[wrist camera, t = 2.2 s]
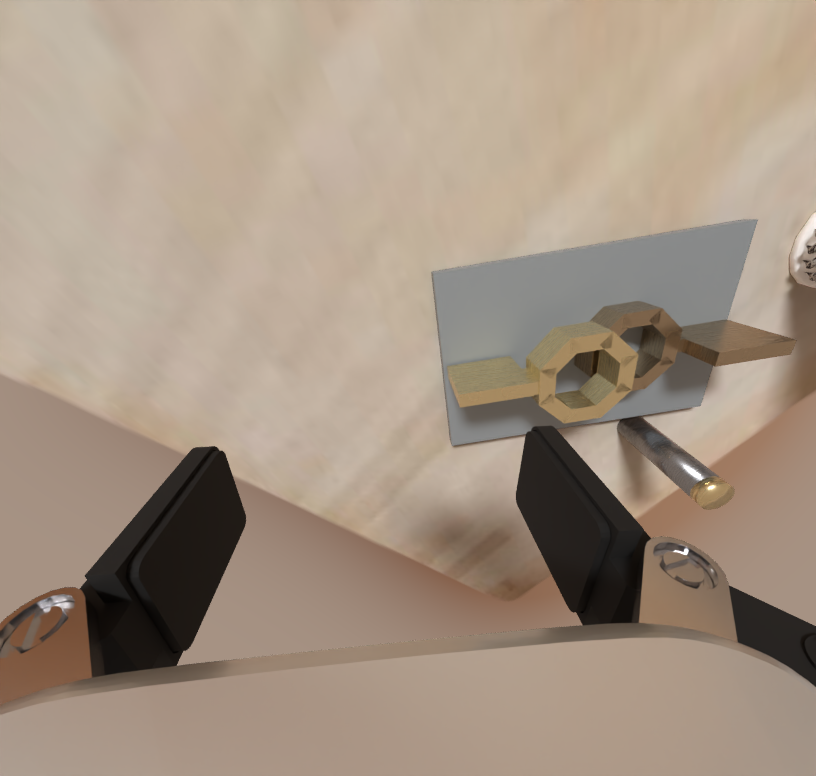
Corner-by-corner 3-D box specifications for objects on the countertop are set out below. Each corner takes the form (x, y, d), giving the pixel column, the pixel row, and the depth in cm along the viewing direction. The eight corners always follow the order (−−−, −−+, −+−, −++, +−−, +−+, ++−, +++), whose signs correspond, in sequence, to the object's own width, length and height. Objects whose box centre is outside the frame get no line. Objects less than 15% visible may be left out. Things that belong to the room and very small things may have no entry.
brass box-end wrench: (598, 308, 29) (643, 326, 24) (589, 383, 33) (627, 413, 27) (443, 333, 29) (455, 357, 24) (450, 405, 33) (462, 439, 28)
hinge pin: (644, 412, 36) (739, 482, 27) (639, 432, 38) (728, 506, 28) (619, 416, 36) (704, 487, 27) (615, 436, 38) (696, 511, 28)
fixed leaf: (735, 284, 29) (814, 298, 24) (712, 362, 33) (776, 389, 27) (579, 310, 29) (621, 330, 24) (572, 384, 33) (608, 416, 28)
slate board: (743, 219, 28) (757, 219, 27) (691, 400, 36) (700, 406, 35) (431, 271, 28) (433, 273, 27) (450, 439, 36) (451, 445, 35)
